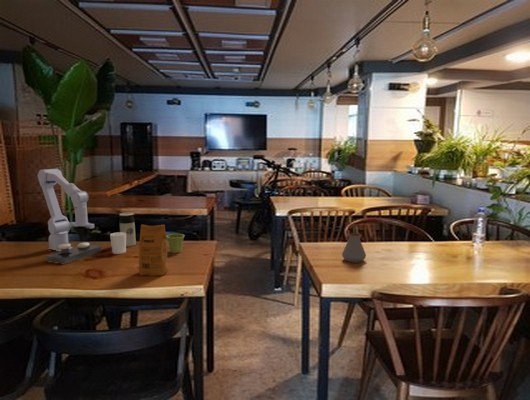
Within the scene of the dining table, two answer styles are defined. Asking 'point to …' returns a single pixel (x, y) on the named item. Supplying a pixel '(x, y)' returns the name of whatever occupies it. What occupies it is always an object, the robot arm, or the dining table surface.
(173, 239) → the plant pot
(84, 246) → the knob
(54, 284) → the dining table surface
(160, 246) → the coffee package
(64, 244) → the knob
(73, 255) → the knob mount
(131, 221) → the travel mug
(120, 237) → the white cup
